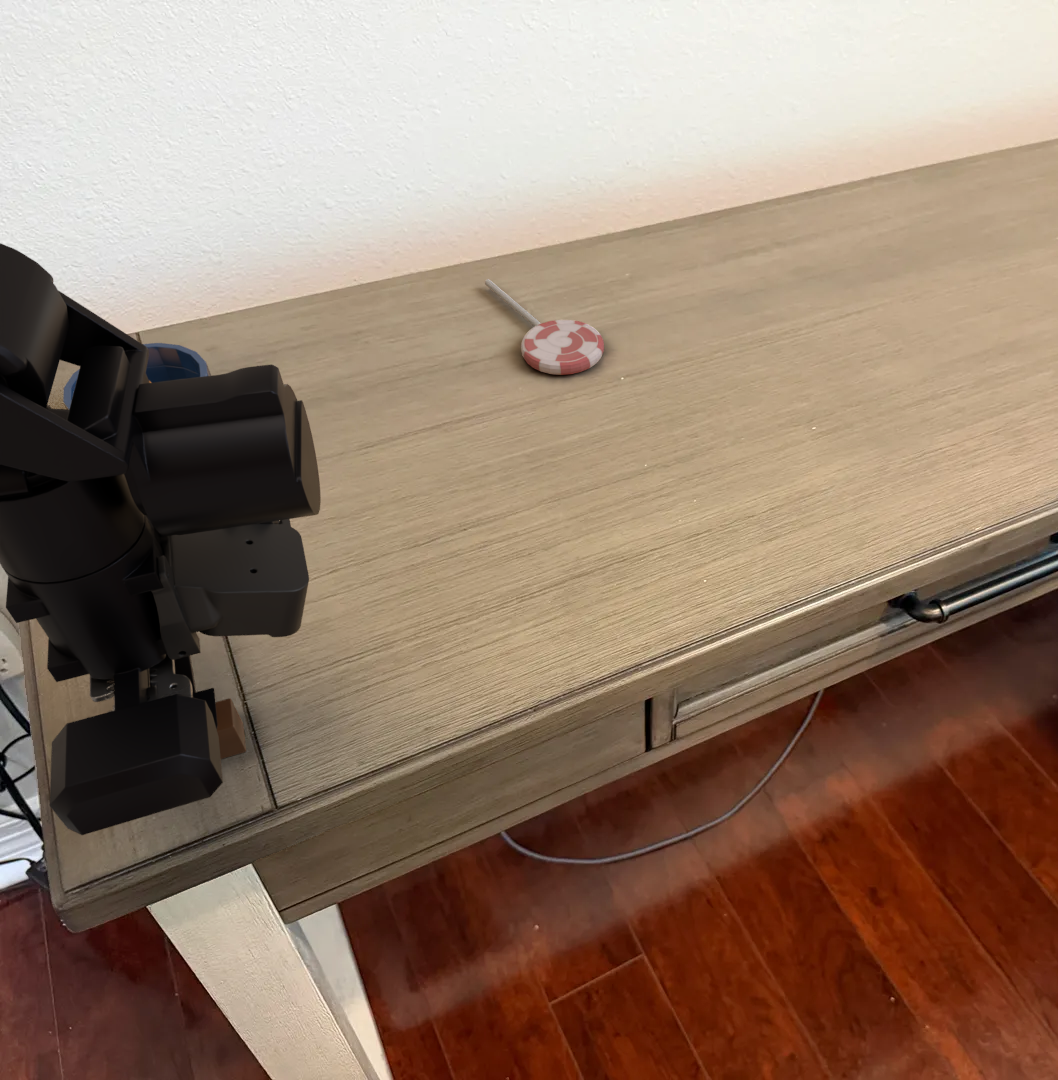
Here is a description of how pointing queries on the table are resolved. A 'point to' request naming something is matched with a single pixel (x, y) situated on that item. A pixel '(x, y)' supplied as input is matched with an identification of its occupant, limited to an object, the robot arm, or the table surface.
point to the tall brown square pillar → (229, 729)
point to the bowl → (160, 366)
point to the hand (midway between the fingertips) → (189, 740)
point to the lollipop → (556, 342)
